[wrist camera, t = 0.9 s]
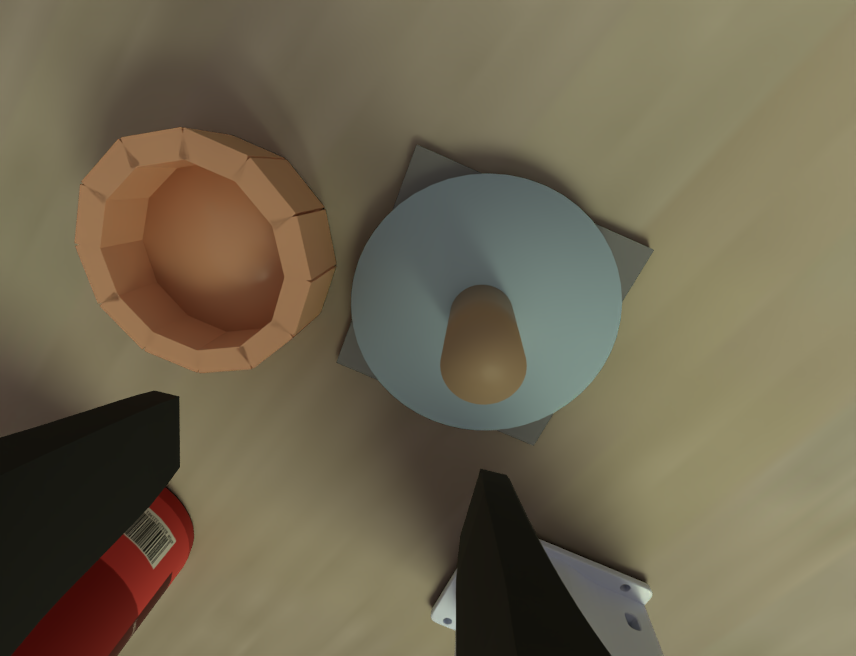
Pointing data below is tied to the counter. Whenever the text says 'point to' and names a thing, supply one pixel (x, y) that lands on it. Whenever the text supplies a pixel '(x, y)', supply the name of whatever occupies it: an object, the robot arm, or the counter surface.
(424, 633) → the counter surface
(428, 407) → the lid
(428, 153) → the mat
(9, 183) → the counter surface
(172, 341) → the bowl
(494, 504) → the robot arm
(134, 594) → the canned food
